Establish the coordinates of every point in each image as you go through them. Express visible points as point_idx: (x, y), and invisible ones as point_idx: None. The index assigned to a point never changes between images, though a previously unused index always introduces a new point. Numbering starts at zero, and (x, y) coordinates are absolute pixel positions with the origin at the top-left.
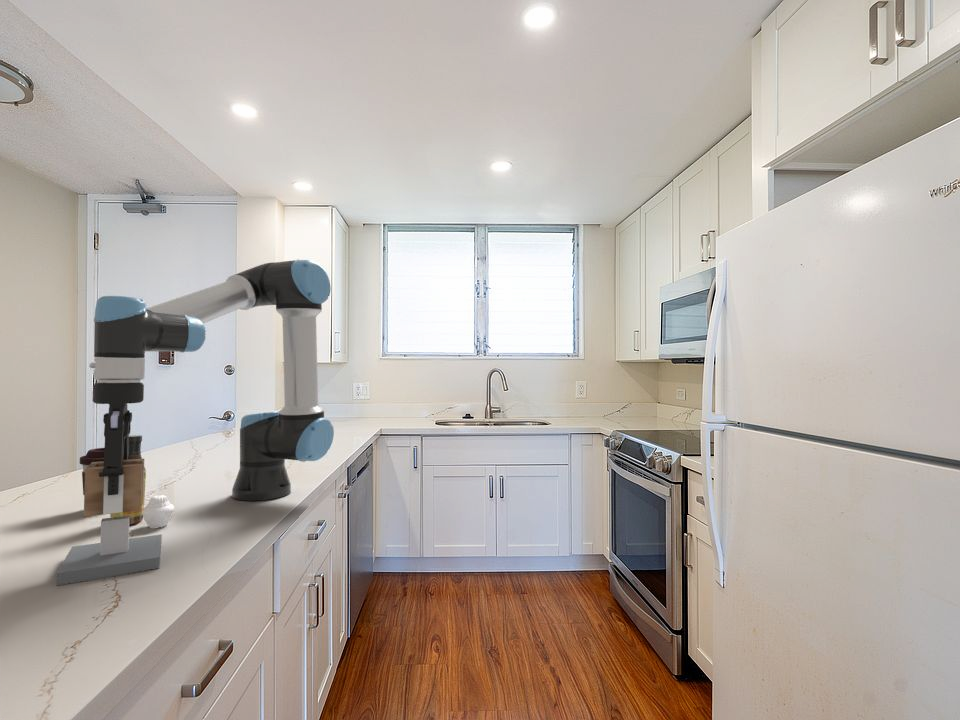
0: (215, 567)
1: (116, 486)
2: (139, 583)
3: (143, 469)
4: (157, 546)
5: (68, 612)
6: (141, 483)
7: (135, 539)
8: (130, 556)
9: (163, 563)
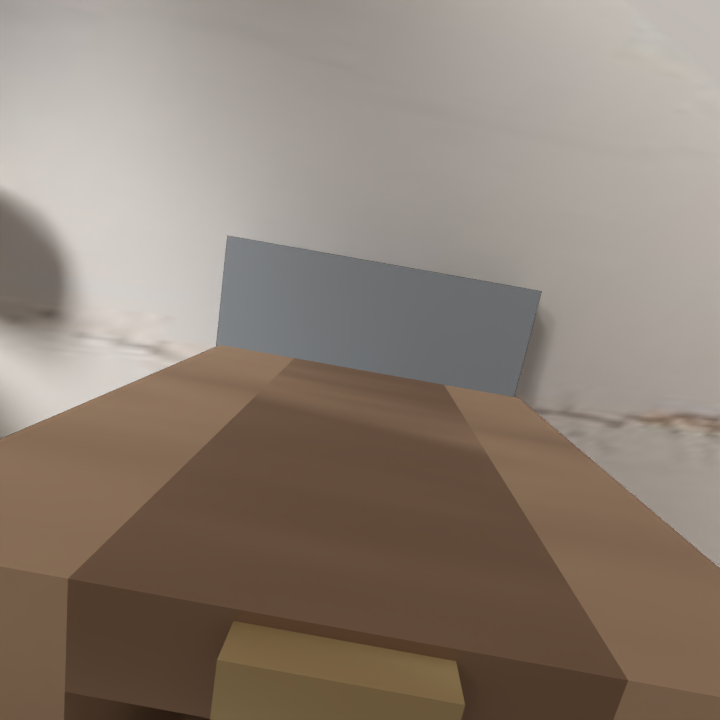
0: (669, 114)
1: None
2: (620, 359)
3: (189, 467)
4: (397, 277)
5: (695, 525)
6: (587, 481)
7: (239, 334)
8: (456, 375)
9: (478, 268)
